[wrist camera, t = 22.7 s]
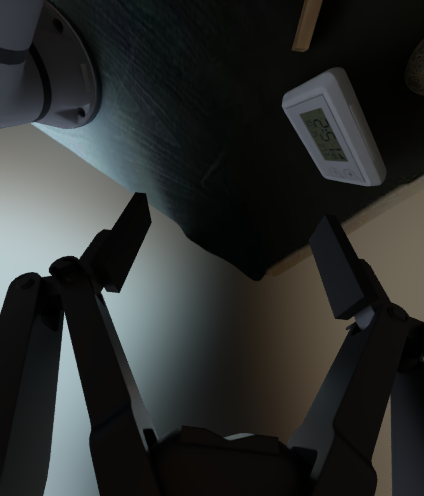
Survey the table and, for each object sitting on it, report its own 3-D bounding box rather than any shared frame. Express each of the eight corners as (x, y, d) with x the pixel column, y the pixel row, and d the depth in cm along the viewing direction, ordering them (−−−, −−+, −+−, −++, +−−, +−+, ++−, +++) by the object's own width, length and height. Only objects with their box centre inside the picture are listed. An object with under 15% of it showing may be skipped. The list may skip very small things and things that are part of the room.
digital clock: (276, 93, 30) (290, 96, 21) (344, 47, 26) (391, 31, 18) (307, 185, 38) (325, 213, 30) (361, 160, 34) (399, 184, 26)
